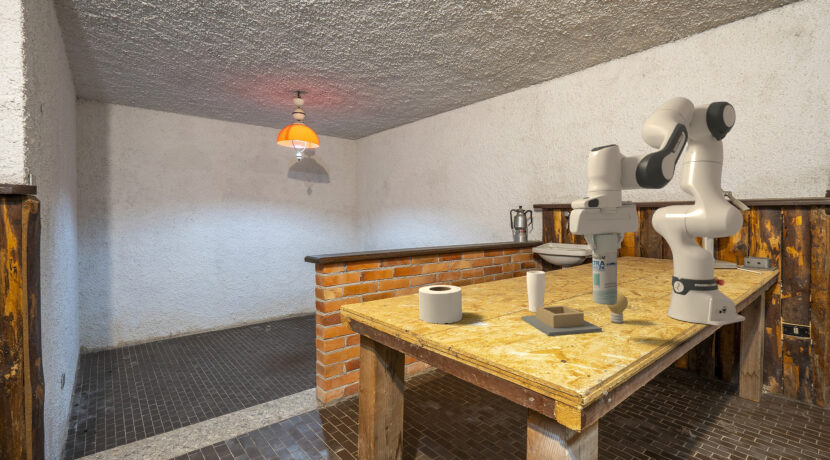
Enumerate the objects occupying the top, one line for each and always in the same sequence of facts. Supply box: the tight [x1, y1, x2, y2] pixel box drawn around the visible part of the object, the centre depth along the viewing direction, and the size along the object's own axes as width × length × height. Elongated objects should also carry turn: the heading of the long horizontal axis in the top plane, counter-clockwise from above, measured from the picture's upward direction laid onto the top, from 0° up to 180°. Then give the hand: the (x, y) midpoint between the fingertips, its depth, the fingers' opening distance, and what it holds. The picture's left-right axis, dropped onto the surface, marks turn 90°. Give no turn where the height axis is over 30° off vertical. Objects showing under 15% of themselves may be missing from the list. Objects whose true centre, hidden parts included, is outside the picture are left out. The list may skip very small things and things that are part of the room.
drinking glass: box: [526, 270, 546, 314], centre depth 138 cm, size 7×7×15 cm
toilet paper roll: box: [418, 284, 463, 325], centre depth 132 cm, size 16×15×11 cm
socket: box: [520, 304, 603, 337], centre depth 121 cm, size 18×18×5 cm
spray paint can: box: [591, 233, 618, 306], centre depth 107 cm, size 6×6×20 cm
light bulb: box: [606, 292, 629, 324], centre depth 123 cm, size 6×6×10 cm
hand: (604, 249), depth 106 cm, fingers closed on spray paint can, 6 cm apart
